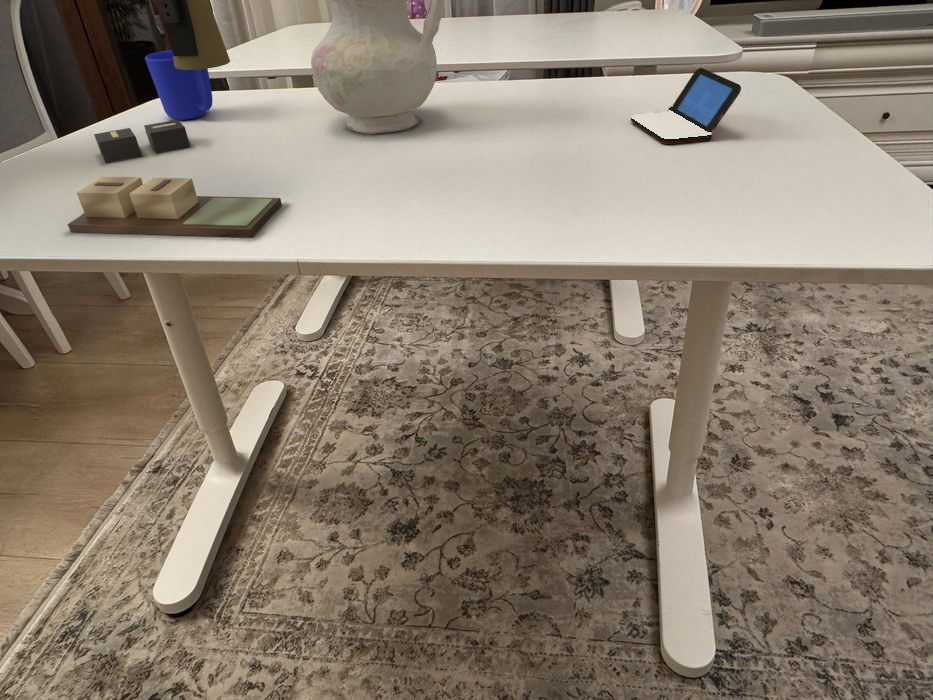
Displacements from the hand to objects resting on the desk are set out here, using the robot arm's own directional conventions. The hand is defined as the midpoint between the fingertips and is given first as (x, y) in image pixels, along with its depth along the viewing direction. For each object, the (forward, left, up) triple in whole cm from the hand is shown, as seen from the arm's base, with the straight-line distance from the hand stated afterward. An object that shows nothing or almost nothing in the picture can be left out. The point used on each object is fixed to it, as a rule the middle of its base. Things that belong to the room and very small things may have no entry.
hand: (197, 50), depth 72 cm
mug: (-40, +4, -17) cm, 44 cm away
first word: (-26, -6, -17) cm, 32 cm away
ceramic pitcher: (-15, +29, -17) cm, 37 cm away
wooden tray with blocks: (+4, -8, -17) cm, 19 cm away
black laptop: (+16, +63, -17) cm, 67 cm away
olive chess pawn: (0, 0, -2) cm, 2 cm away
